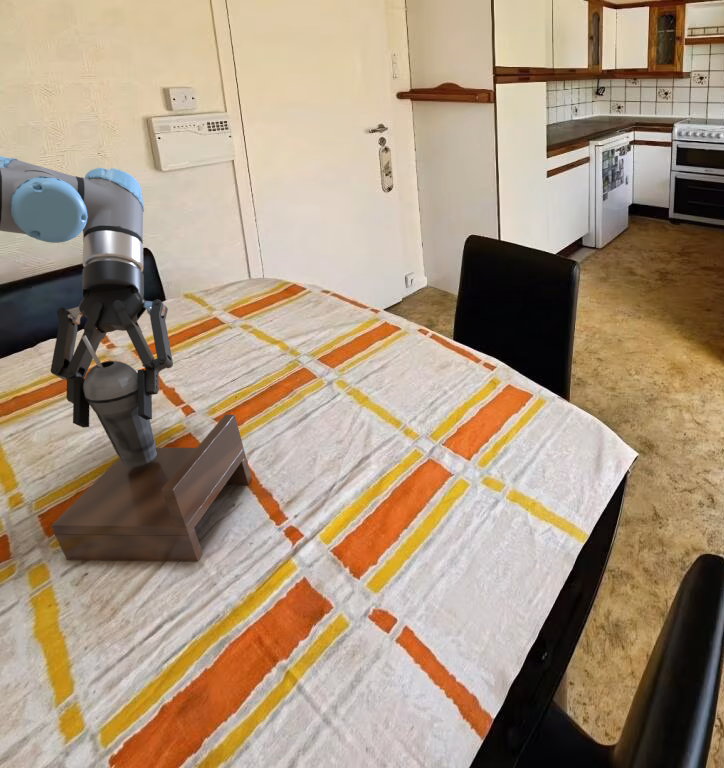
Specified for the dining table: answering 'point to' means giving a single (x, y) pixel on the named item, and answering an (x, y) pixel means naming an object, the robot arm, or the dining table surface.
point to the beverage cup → (119, 409)
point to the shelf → (154, 502)
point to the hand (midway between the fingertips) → (113, 420)
